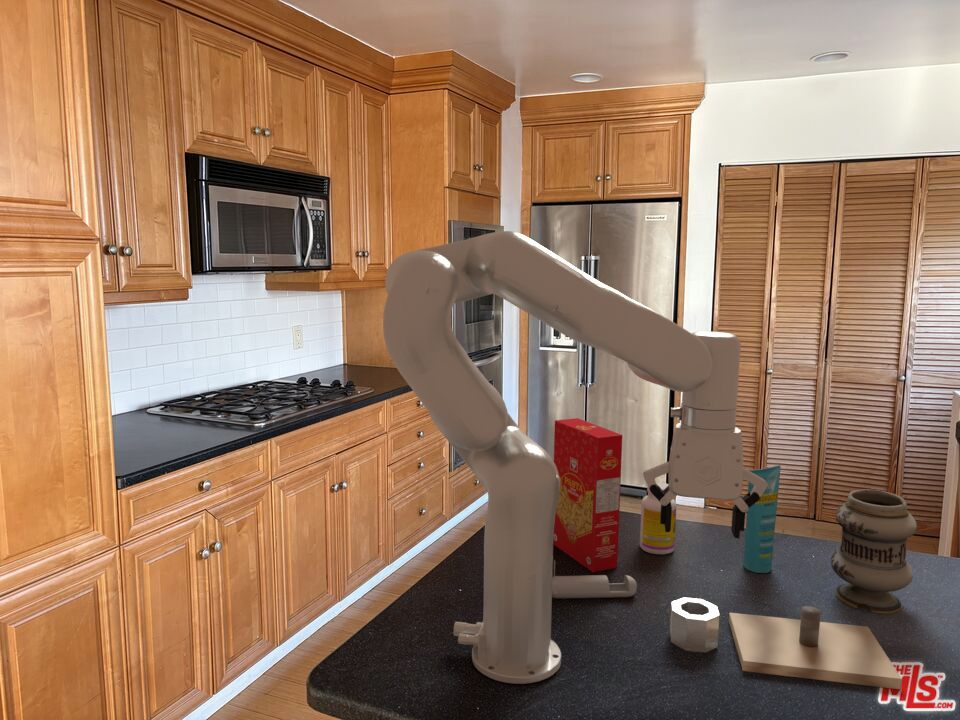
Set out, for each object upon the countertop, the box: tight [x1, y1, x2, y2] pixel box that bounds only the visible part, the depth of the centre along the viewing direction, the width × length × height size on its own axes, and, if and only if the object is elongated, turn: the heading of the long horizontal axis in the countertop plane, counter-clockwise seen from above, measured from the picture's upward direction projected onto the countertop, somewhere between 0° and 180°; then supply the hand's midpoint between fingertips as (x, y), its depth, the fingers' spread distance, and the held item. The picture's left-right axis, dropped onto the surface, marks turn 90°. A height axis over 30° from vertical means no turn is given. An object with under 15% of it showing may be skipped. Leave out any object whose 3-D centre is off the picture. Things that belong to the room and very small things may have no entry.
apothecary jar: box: [830, 488, 918, 614], centre depth 120 cm, size 12×12×18 cm
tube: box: [743, 464, 781, 574], centre depth 132 cm, size 7×5×19 cm, turn 120°
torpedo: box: [552, 559, 638, 600], centre depth 121 cm, size 18×5×7 cm, turn 94°
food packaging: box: [553, 417, 623, 573], centre depth 137 cm, size 15×5×25 cm, turn 25°
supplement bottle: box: [639, 481, 677, 556], centre depth 141 cm, size 7×7×13 cm
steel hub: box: [669, 597, 720, 654], centre depth 107 cm, size 7×7×5 cm
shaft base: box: [728, 605, 903, 690], centre depth 104 cm, size 20×14×6 cm
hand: (700, 531), depth 106 cm, fingers open, 9 cm apart
